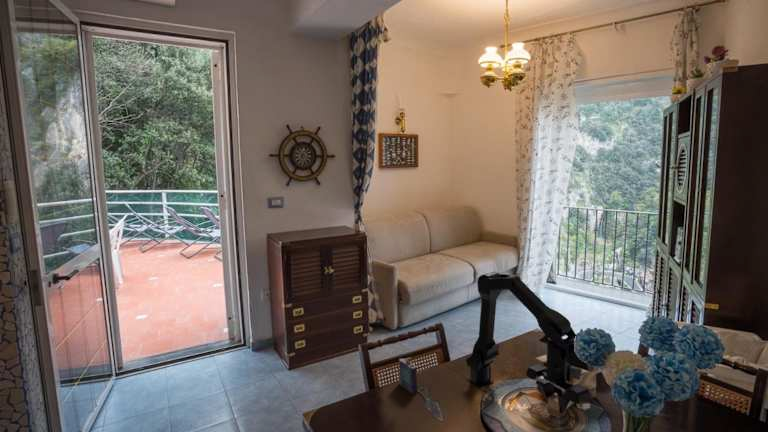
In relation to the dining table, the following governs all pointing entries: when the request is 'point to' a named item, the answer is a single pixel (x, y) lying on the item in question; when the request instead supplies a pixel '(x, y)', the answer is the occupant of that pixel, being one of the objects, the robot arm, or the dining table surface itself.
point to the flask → (408, 375)
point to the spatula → (555, 406)
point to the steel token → (583, 405)
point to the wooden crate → (585, 379)
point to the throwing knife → (431, 403)
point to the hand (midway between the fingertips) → (556, 409)
